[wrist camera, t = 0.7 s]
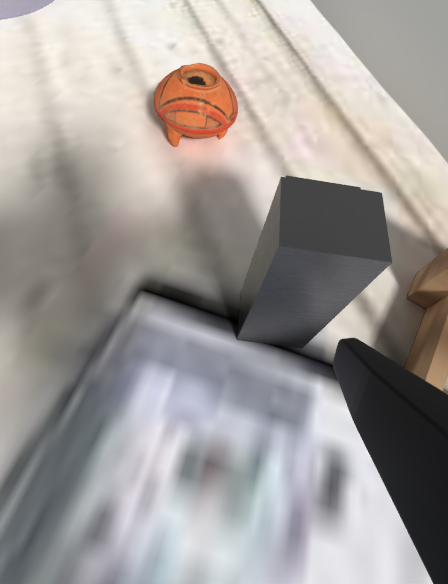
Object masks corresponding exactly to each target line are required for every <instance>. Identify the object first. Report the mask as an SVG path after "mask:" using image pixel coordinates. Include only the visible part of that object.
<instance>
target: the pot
mask: <svg viewBox="0 0 448 584" xmlns="http://www.w3.org/2000/svg"><path fill="white" fill-rule="evenodd" d="M154 107H155V110H156V112H157V114H158V115H159V116H160V117H161V118H162V119H163V120H164V121H165V122H166V126H167V133H168V138H169V141H170V143H171V145H173V146H175V147H177V146H178V143H179V140H180V138H181V136H182V135H185V136H188V137H192V138H209V137H213V136H216V135H218V139H221V138H222V137H224V136H225V134H226V132H227V130H228V128H229V127H230V126H231V125H232V124H233V123H234V122H235V120H236V117H237V114H238V103H237V99H236V96H235V94H234V92H233V90H232V88H231V87H230V85H229V84H228V83H227V82H226V81H225V80H224V79H223V78H222V77H221V76H220V75H219V73H218V72H217V71H216V70H215V69H214V68H213V67H211V66H209V65H206V64H202V63H196V64H191V65H184V66H181V67H180V68H179V69H177V70H175V71H173V72H171V73H170V74H168V75H167V76H166V77H165V78H164V79H163V80H162V81H161V82H160V83H159V84H158V86H157V88H156V90H155V92H154Z"/></svg>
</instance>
